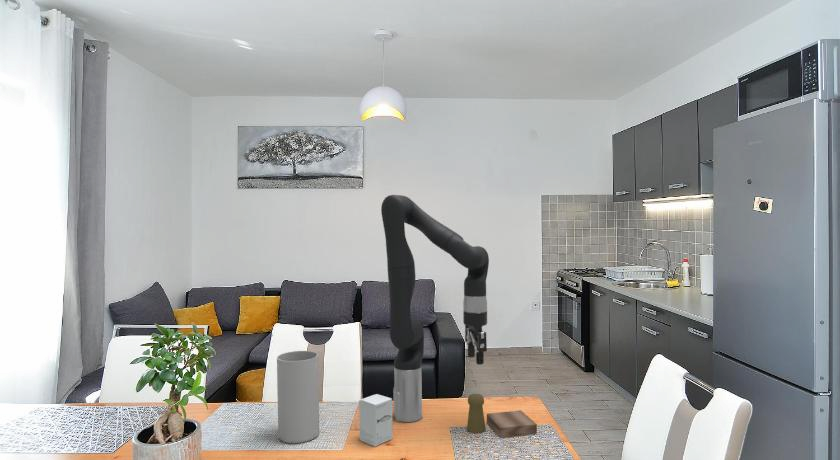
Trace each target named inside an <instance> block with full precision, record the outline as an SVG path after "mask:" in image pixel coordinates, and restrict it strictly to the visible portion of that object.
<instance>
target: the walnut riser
mask: <svg viewBox="0 0 840 460" xmlns="http://www.w3.org/2000/svg"><path fill="white" fill-rule="evenodd" d="M486 425H488V426H489V427H490V428H491V429H492V430H493V432H495V434H496V435H497V436H498V437H499V438H500V439H503V438H504V439H505V438H511V437H512V438H513V437H520V436H521V437H522V436H529V435H537V433H538V424H537V423H536V422H535V421H533V419H532V418H530V417H529V416H528V415H527V414H525V413H524V412H523V411H522V410H509V411H501V412H489V413H486Z"/></svg>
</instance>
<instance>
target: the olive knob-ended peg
mask: <svg viewBox="0 0 840 460" xmlns="http://www.w3.org/2000/svg"><path fill="white" fill-rule="evenodd" d="M467 403H468V405H469V408H468V417H467V424H466V430H467V432H469V433H472V434H481V433H482V434H483V433H484V432H486V430H487V429H486V422H485V414H484V407H483V406H484V404H485V398H484V396H483V395H482V394H480V393H471V394H470V395H468V397H467Z"/></svg>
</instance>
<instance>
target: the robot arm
mask: <svg viewBox="0 0 840 460" xmlns="http://www.w3.org/2000/svg"><path fill="white" fill-rule="evenodd" d="M380 211H381V218H382V224H383V230H384V231H383V232H384V235H385V247H386V248H385V249H386V261H387V264H386V265H387V280H388V289H389V290H388V292H389V305H390V307H389V308H390V312H389V338H390V341H391V343H392V345H393V346H394V347H395V348H397V349H398V352H397V353H396V356H395V357H394V359H393V366H394V367H393V369H394V370H393V371H394V373H393V374H394V376H393V378H394V387H393V389H392V390H393V391H392V393H393V398H392V402H393V417H394V419H395V421H396V422H402V423H413V422H414V423H415V422H418V421H419V420H421V419H423V396H422V395H423V394H422V393H423V392H422V389H423V387H422V385H423V384H422V383H423V382H422V379H423V377H422V361H423V359H424V350H425V349H424V347H425V346H424V345H425V332H424V327H423V325H422V323H421V321H420V320H419V319H417V318H414V317H412V314H411V303H412V299H413V294H414V290H415V286H416V265H415V259H414V254H413V253H412V251H411V248H410V245H409V243H408V241H407V238H406V229H405V224H407V225H409V226H411V227H414V228H416V229H417V230H418V231H420V232H421V233H422V234H423V235H424V236H425V237H426V238H427V239H428V240H429V241H430V242H431V243H432V244H434V246H437V247H438V248H439V249H441V250H442V251H444V252H445V253H447V254H449V255H450V256H451V257H452V258H453V259H454V260H455V261H456V262H457V263H458V264H459V265H461V266H462V267H464V268H466V269H467V274H466V275H467V276H466V277H465V279H464V281H463V282H464V283H463V300H462V301H463V302H462V303H463V305H462V306H463V307H462V308H463V310H462V311H463V312H462V313H463V314H462V315H463V318H462V319H463V321H462V322H463V325H464V341H465V343H466V345H467V357H468V358H475V363H476V365H478V366H479V365H483V364H484V363H485V361H484V360H485V358H484V353H485V352H487V351H488V349H487V345H488V344H487V331H483V326H487V324H488V300H487V276H488V272H489V265H490V264H489V263H490V257H489V254H488V252H487V249H486V248H485V247H482V246H479V245H477V246H476V245H475V246H473V245H470V244H469V243H468V242H466V241H465V240H464V238H463V237H462V236H461V235H460V234H459V233H457V232H456V231H454V230H452V229H451V228H450V227H447V226H446V225H444V224H443V223H441V222H439V221H438V220H437V219H435V218H433V217H432V216H431V215H429V214H428V213H427V212H426V211H424V209H422V208H421V207H420V206H419V205H417V204H416V203H415V202H414V201H413V199H411V198H409V197H408V196H406V195H399V194H391V195H388V196H386V197H384V199H383V201H382V202H381V208H380Z"/></svg>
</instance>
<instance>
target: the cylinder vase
mask: <svg viewBox="0 0 840 460" xmlns="http://www.w3.org/2000/svg"><path fill="white" fill-rule="evenodd" d="M276 374H277V376H276V378H277V379H276V380H277V381H276V382H277V384H276V385H277V388H276V389H277V436H278V439H279V440H280V441H281V442H283V443H288V444H301V443H306V442H310V441H312V440H314V439H316V438H317V436H319V434H320V389H319V388H320V387H319V384H320V382H319V354H318V352H315V351H313V350H312V351H311V350H294V351H288V352H283V353H281V354H279V355H277V356H276Z"/></svg>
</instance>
